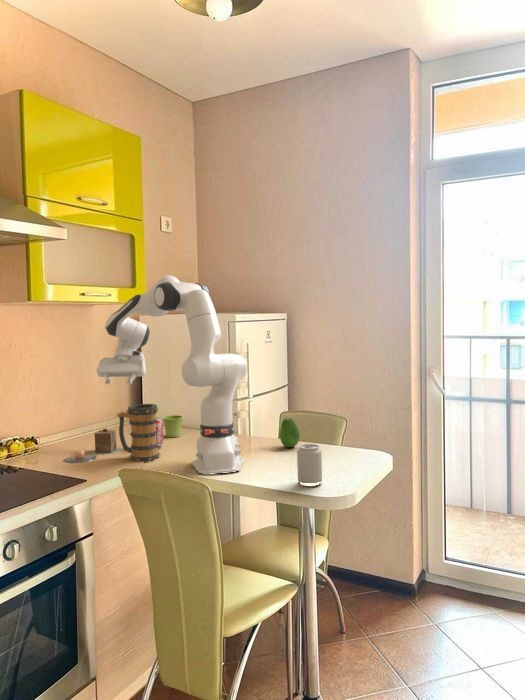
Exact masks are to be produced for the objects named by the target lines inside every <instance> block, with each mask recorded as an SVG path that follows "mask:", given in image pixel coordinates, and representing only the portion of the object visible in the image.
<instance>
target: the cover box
mask: <svg viewBox="0 0 525 700" xmlns="http://www.w3.org/2000/svg"><path fill="white" fill-rule="evenodd" d="M117 446H118V445H117V429H108V428H102V429H99V430H97V431H95V432H94V449H95V450H94V451H95V453H112V452H114V451H115V450H116V449H117V448H118V447H117Z"/></svg>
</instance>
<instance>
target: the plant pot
mask: <svg viewBox="0 0 525 700" xmlns="http://www.w3.org/2000/svg"><path fill="white" fill-rule="evenodd" d="M183 419H184V415H178V414H173V415H172V414H171V415H166V416H162V421H163V423H164V430H165V436H166V438H170V437H171V438H178V437H181V434H182V423H183Z"/></svg>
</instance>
